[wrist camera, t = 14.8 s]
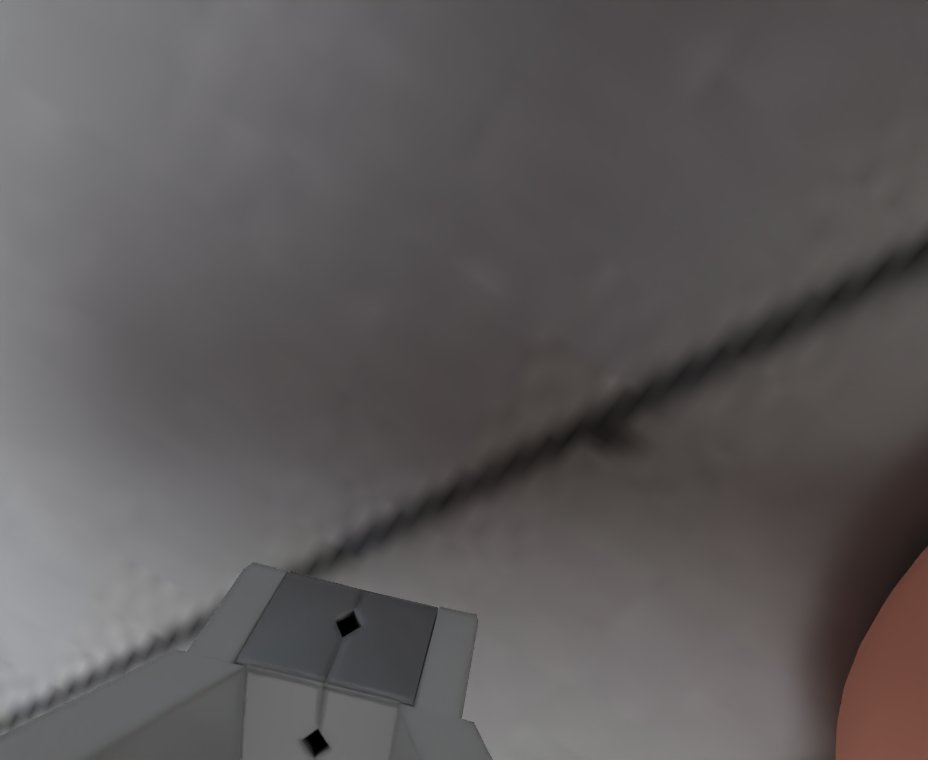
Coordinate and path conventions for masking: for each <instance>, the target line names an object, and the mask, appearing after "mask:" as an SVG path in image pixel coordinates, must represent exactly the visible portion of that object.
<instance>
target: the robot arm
mask: <svg viewBox="0 0 928 760" xmlns="http://www.w3.org/2000/svg"><path fill="white" fill-rule="evenodd" d="M437 612H438V613H437ZM477 626H478V617H477V615H476V614H472V613H467V612H462V611H457V610H453V609H448V608H443V607H439V610H438V607H435V606H431V605H427V604H422V603H418V602H413V601H409V600H405V599H400V598H396V597H391V596H387V595H383V594H378V593H374V592H369V591H365V590H361V589H357V588H353V587H349V586H346V585H342V584H338V583H334V582H330V581H326V580H323V579H319V578H315V577H311V576H307V575H303V574H299V573H296V572H292V571H291V572H288V571H285V570H281V569H277V568H273V567H270V566H266V565H262V564H258V563H254V562H253V563H251V564H250V565H249V566H247V567H246V568H244V569H243V571H242V572H241V574H240V575H239V577H238V578H237V579H236V581H235V582H234V584H233V585H232V587H231V588H230V590H229V591H228V593H227V594H226V596H225V597H224V599H223V600H222V601H221V603H220V604H219V606H218V607H217V609H216V610H215V612H214V613H213V615H212V616H211V618H210V619H209V621H208V622H207V623H206V625H205V626H204V628H203V629H202V631H201V632H200V634H199V635H198V637H197V638H196V640H195V641H194V642H193V644H192V645H191V647H190V648H189V650H188V651H187V652H185V651H180V650H176V649H175V650H173V651H171V652H169V653H167V654H165V655H163V656H161V657H159V658H157V659H155V660H153V661H151V662H149V663H147V664H145V665H143V666H141V667H139V668H136V669H134V670H132V671H130V672H128V673H126V674H124V675H122V676H120V677H118V678H116V679H114V680H112V681H110V682H108V683H106V684H104V685H102V686H100V687H98V688H96V689H94V690H92V691H90V692H88V693H86V694H84V695H82V696H80V697H78V698H76V699H74V700H72V701H70V702H68V703H66V704H64V705H62V706H60V707H58V708H56V709H54V710H52V711H50V712H48V713H46V714H44V715H42V716H40V717H38V718H36V719H34V720H32V721H30V722H28V723H26V724H24V725H22V726H19V727H17V728H15V729H13V730H11V731H9V732H7V733H5V734H3V735H1V736H0V760H493V759H492V757H491V755H490V753H489V751H488V750H487V748H486V746H485V744H484V742H483V740H482V738H481V736H480V734H479V732H478V730H477V728H476V726H475V724H474V722H471V721H467V720H464V719H462V714H463V708H464V702H465V696H466V690H467V684H468V678H469V672H470V667H471V661H472V655H473V649H474V643H475V637H476V631H477Z"/></svg>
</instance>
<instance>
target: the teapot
mask: <svg viewBox="0 0 928 760" xmlns="http://www.w3.org/2000/svg"><path fill="white" fill-rule="evenodd" d="M836 760H928V546H927V547H926V548H925V550H924V551H923V552H922V553H921V554H920V555H919V557H918V558H917V559H916V560H915V562H914V563H913V564H912V566H911V567H910V568H909V570H908V571H907V572H906V573H905V575H904V576H903V577H902V579H901V580H900V581H899V582H898V584H897V585H896V586H895V588H894V589H893V590H892V592H891V593H890V595H889V596H888V598H887V599H886V601H885V602H884V604H883V606H882V608H881V609H880V611H879V613H878V615H877V616H876V618H875V620H874V622H873V623H872V625H871V627H870V629H869V630H868V632H867V634H866V636H865V637H864V639H863V641H862V643H861V644H860V646H859V649H858V652H857V654H856V657H855V659H854V662H853V665H852V667H851V670H850V673H849V675H848V678H847V680H846V683H845V686H844V690H843V696H842V701H841V706H840V711H839V716H838V721H837V729H836Z"/></svg>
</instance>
